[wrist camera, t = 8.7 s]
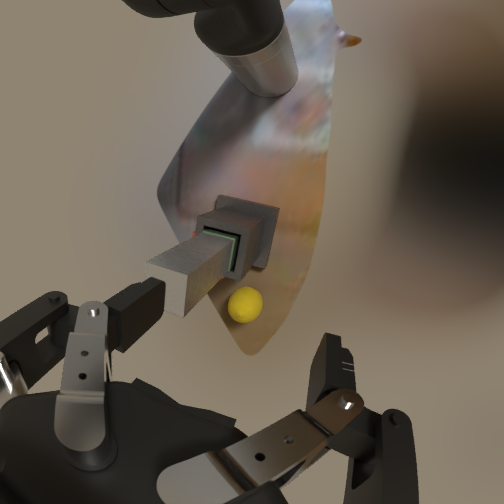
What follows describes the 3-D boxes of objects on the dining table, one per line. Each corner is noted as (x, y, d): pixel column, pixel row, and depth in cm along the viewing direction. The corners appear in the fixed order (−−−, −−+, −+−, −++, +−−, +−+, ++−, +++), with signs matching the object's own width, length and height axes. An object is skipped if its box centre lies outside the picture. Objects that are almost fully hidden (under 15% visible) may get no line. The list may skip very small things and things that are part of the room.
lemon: (242, 310, 50) (228, 333, 43) (232, 283, 49) (216, 302, 42) (270, 305, 49) (261, 328, 41) (261, 277, 47) (249, 296, 40)
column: (220, 222, 39) (144, 260, 22) (248, 228, 39) (189, 274, 21) (215, 249, 41) (143, 303, 23) (242, 256, 40) (184, 319, 22)
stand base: (220, 194, 45) (188, 202, 34) (279, 208, 44) (265, 219, 32) (211, 251, 48) (179, 273, 37) (266, 265, 47) (249, 295, 35)
